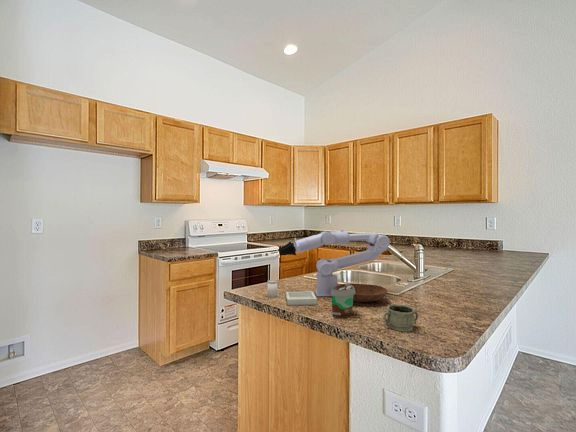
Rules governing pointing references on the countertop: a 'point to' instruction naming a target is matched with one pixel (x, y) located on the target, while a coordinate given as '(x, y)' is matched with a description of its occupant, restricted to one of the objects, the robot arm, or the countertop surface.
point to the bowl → (366, 292)
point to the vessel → (400, 317)
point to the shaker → (272, 288)
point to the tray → (301, 298)
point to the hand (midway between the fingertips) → (278, 252)
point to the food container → (342, 301)
